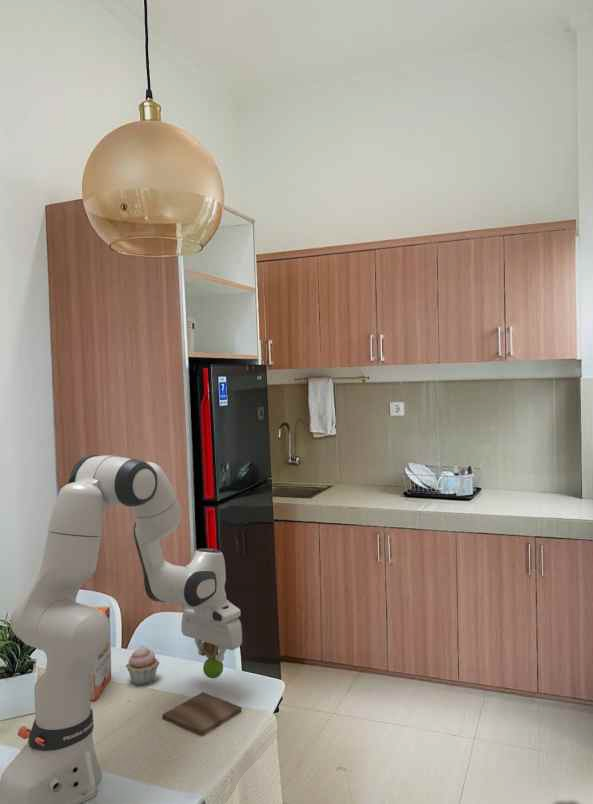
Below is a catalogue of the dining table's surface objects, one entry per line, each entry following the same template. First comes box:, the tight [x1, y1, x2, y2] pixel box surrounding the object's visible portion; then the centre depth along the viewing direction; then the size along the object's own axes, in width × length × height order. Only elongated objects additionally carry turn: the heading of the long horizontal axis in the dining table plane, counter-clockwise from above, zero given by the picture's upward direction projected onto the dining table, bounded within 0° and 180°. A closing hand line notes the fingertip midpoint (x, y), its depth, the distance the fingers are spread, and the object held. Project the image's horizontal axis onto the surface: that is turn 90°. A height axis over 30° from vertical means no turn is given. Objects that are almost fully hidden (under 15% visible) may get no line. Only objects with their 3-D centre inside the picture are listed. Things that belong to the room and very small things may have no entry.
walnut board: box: [162, 691, 242, 737], centre depth 166 cm, size 14×14×1 cm
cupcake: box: [125, 644, 160, 686], centre depth 186 cm, size 9×9×10 cm
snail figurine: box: [202, 641, 224, 679], centre depth 179 cm, size 5×6×12 cm
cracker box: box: [90, 605, 112, 701], centre depth 181 cm, size 14×6×21 cm, turn 179°
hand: (211, 657), depth 180 cm, fingers closed on snail figurine, 5 cm apart
